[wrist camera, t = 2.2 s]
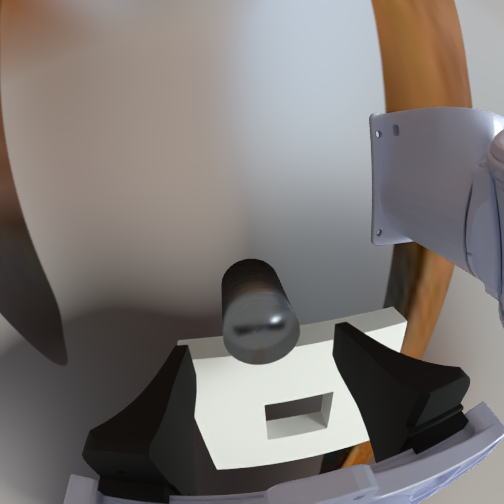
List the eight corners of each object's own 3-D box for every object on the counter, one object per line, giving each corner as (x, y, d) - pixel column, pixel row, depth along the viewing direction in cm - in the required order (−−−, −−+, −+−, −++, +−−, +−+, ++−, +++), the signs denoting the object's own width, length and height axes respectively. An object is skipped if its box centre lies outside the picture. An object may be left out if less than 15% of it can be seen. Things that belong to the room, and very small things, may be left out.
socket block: (177, 340, 21) (174, 360, 18) (392, 306, 22) (407, 321, 20) (216, 452, 27) (217, 469, 25) (362, 425, 28) (369, 440, 26)
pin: (217, 262, 19) (218, 308, 13) (277, 255, 19) (299, 298, 14) (225, 313, 20) (228, 368, 15) (279, 306, 21) (299, 358, 15)
